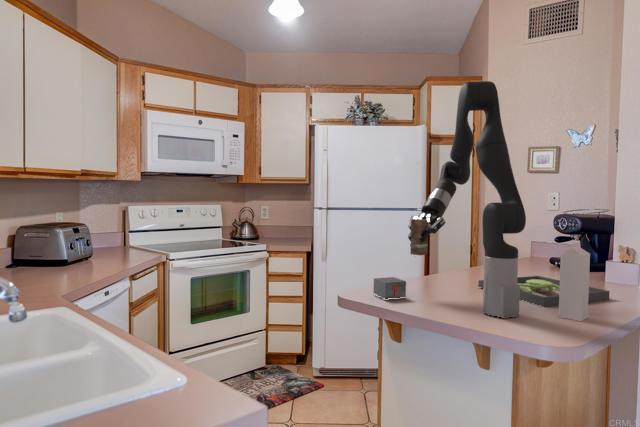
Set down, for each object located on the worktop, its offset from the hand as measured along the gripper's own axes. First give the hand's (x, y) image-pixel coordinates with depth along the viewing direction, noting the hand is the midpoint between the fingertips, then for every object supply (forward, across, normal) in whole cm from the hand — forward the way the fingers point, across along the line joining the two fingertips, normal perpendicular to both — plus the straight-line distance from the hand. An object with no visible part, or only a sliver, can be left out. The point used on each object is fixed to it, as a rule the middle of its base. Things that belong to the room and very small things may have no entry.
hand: (415, 239), depth 152 cm
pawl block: (+18, -6, +10) cm, 22 cm away
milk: (+3, +44, +26) cm, 51 cm away
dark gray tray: (-15, +25, +43) cm, 52 cm away
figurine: (-13, +25, +42) cm, 51 cm away
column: (+2, 0, +5) cm, 5 cm away
